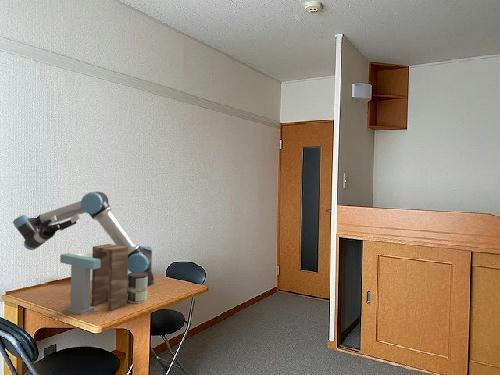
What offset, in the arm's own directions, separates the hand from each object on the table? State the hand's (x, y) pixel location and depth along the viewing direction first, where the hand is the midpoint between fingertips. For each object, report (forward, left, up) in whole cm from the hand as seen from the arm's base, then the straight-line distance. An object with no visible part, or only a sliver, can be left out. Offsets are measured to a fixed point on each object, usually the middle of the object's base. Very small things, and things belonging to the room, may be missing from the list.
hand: (67, 216), depth 196 cm
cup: (-21, -31, -44) cm, 58 cm away
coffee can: (-29, +23, -44) cm, 58 cm away
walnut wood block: (-14, +23, -44) cm, 51 cm away
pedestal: (0, +21, -44) cm, 48 cm away
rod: (0, +20, -22) cm, 30 cm away
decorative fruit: (-31, +7, -44) cm, 54 cm away
